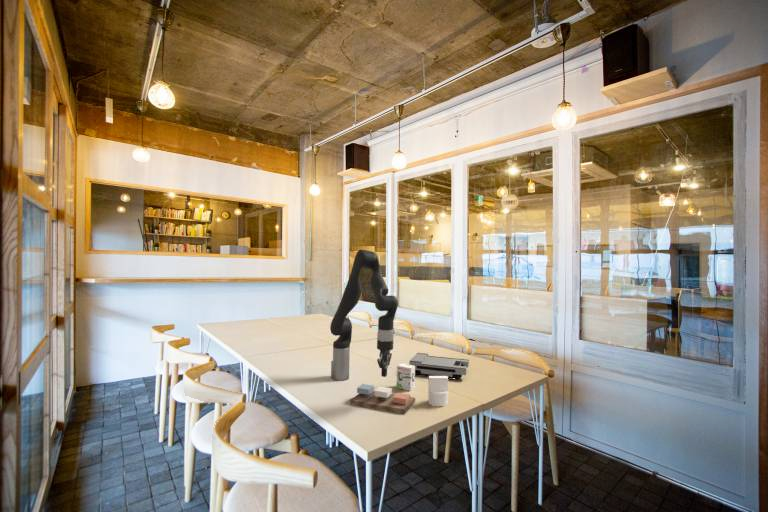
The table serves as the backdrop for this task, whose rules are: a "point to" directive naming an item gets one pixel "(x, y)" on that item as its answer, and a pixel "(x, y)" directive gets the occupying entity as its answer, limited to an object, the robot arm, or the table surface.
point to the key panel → (381, 403)
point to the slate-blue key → (365, 389)
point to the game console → (439, 366)
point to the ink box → (405, 377)
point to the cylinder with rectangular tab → (438, 390)
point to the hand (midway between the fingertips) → (384, 376)
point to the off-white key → (383, 392)
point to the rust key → (401, 398)
